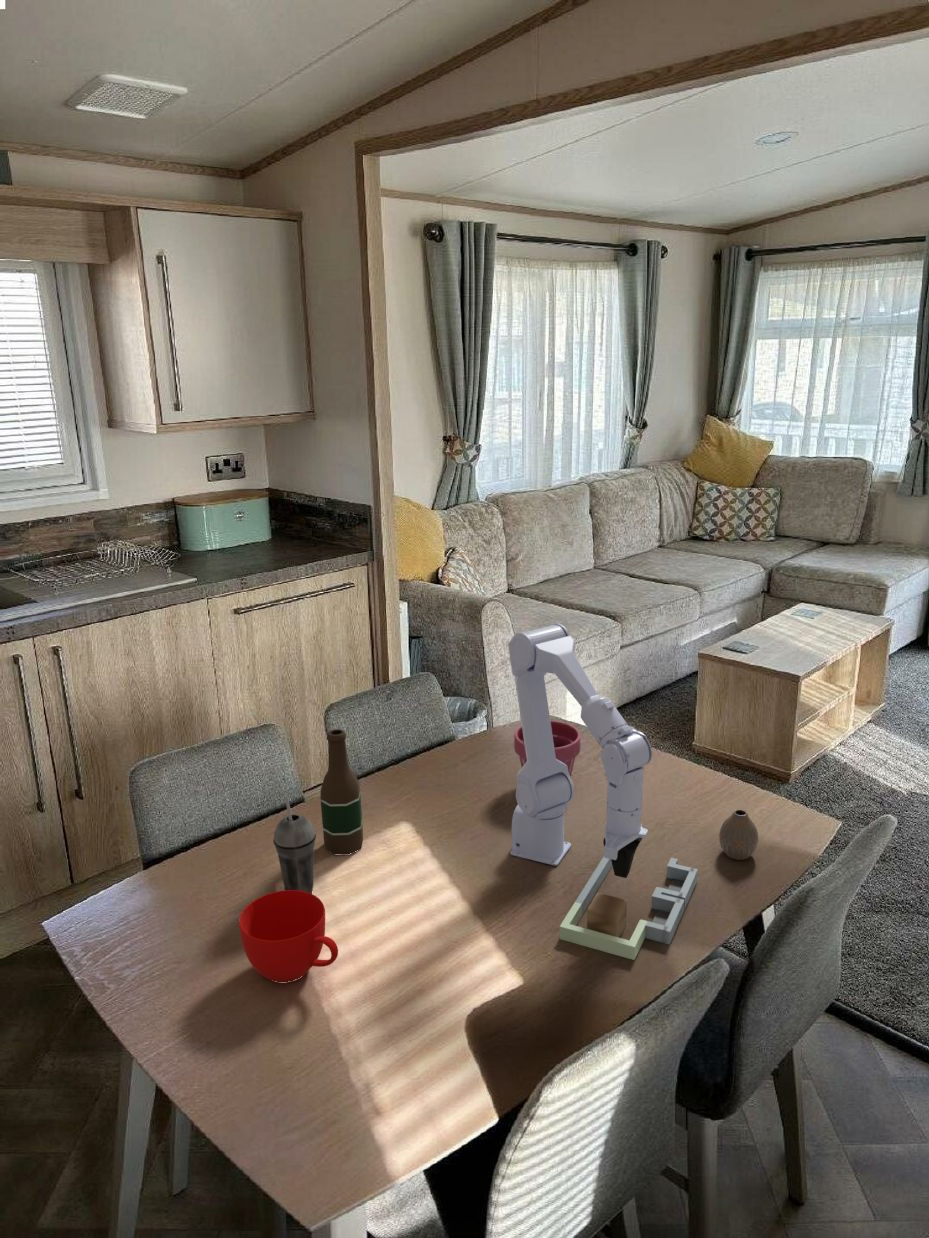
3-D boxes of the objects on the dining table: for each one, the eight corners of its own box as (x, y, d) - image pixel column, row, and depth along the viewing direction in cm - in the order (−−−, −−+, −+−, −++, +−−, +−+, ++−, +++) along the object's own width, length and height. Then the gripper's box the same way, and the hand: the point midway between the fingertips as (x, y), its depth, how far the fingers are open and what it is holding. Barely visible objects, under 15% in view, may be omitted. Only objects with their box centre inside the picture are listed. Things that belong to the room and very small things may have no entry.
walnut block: (586, 935, 147) (587, 908, 146) (597, 918, 151) (597, 892, 150) (616, 943, 145) (616, 917, 143) (626, 926, 149) (626, 900, 148)
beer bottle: (316, 852, 173) (306, 737, 166) (336, 832, 180) (328, 721, 172) (352, 859, 170) (344, 743, 163) (371, 839, 177) (364, 726, 170)
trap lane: (559, 938, 146) (559, 926, 146) (611, 855, 169) (611, 843, 169) (659, 967, 139) (660, 954, 138) (699, 875, 162) (700, 864, 162)
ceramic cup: (310, 1019, 130) (305, 961, 127) (226, 979, 139) (220, 923, 136) (366, 968, 141) (362, 912, 138) (285, 933, 149) (280, 880, 146)
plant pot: (583, 803, 188) (584, 747, 185) (515, 804, 189) (515, 748, 185) (576, 771, 202) (576, 718, 198) (513, 772, 202) (512, 719, 199)
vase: (758, 866, 165) (762, 823, 162) (719, 862, 166) (722, 820, 164) (754, 845, 171) (758, 804, 169) (717, 842, 173) (719, 801, 170)
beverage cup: (328, 889, 161) (320, 788, 155) (305, 911, 155) (296, 807, 149) (294, 879, 164) (285, 780, 158) (270, 901, 158) (260, 799, 152)
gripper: (635, 829, 141) (632, 904, 145) (659, 788, 153) (656, 858, 158) (592, 819, 144) (590, 893, 148) (619, 780, 157) (617, 849, 161)
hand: (621, 874), depth 153 cm, fingers closed
